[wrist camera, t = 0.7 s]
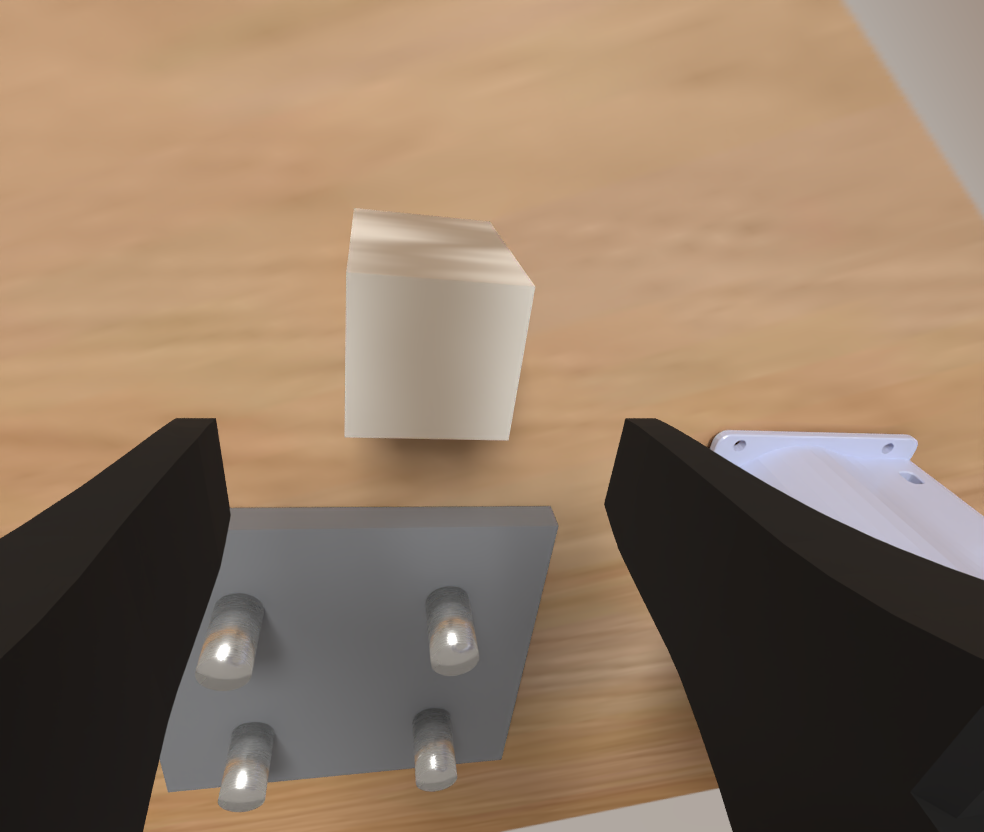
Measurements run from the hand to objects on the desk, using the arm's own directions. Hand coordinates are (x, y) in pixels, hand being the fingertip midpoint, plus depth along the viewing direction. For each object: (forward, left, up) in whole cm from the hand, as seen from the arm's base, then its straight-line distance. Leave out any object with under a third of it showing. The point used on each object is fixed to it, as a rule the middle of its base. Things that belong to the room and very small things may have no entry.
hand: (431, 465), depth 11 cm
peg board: (+2, +17, -9) cm, 19 cm away
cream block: (0, 0, -9) cm, 9 cm away
